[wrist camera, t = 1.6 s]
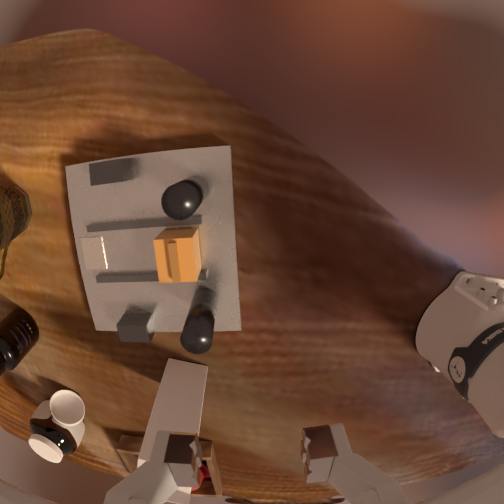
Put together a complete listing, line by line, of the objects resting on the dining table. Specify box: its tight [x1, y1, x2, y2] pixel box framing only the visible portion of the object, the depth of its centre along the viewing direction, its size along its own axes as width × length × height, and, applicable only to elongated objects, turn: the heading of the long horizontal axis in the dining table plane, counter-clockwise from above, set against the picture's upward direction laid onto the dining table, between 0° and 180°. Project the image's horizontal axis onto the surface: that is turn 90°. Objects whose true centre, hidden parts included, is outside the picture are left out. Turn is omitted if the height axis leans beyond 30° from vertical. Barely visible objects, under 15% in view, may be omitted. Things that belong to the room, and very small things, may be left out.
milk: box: [137, 358, 208, 504], centre depth 34 cm, size 6×6×22 cm
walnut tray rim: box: [116, 435, 222, 497], centre depth 50 cm, size 18×17×4 cm
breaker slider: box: [153, 228, 202, 283], centre depth 33 cm, size 4×5×5 cm
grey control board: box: [65, 146, 241, 354], centre depth 32 cm, size 20×22×12 cm
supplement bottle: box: [0, 310, 39, 375], centre depth 36 cm, size 7×7×12 cm
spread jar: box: [29, 390, 85, 463], centre depth 42 cm, size 12×11×12 cm
